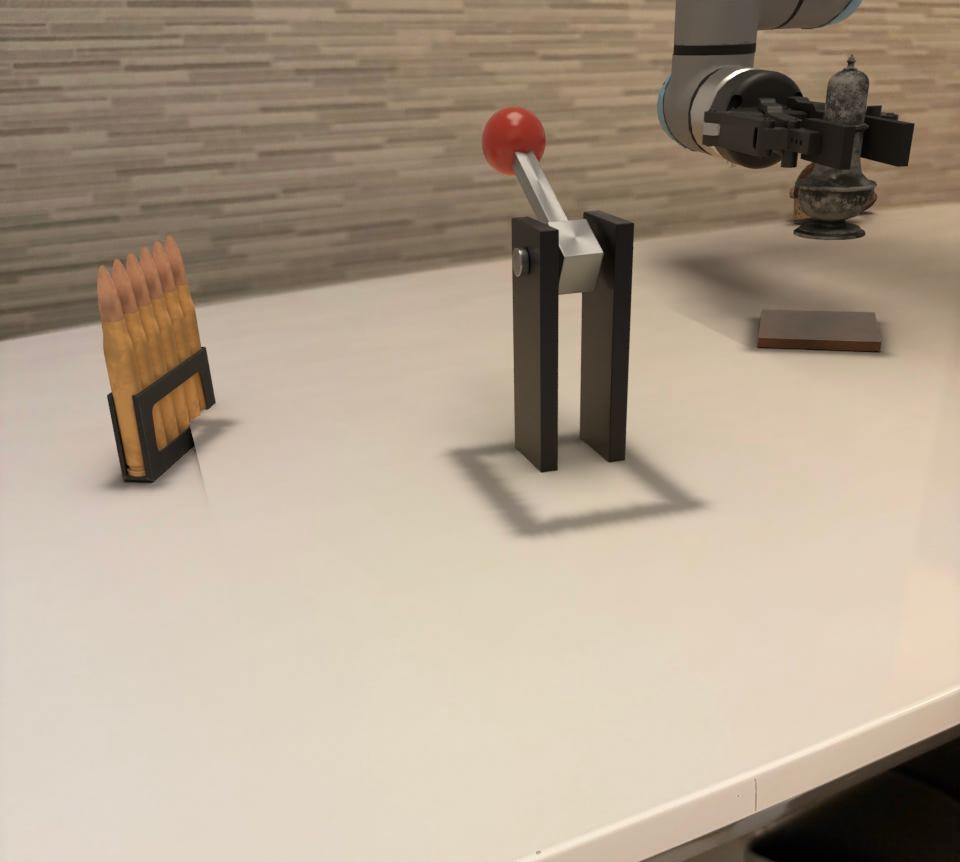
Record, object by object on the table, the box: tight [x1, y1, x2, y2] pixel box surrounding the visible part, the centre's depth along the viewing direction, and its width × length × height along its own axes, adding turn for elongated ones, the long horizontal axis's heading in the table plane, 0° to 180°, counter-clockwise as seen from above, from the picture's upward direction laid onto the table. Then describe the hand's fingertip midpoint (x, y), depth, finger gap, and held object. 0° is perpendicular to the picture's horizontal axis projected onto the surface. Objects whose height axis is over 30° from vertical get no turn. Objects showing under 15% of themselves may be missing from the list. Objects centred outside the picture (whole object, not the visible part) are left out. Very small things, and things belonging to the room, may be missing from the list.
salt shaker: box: [792, 53, 878, 241], centre depth 79 cm, size 6×6×12 cm
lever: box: [481, 105, 604, 296], centre depth 58 cm, size 13×4×4 cm, turn 18°
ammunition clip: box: [96, 234, 216, 482], centre depth 64 cm, size 11×2×12 cm, turn 170°
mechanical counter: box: [789, 162, 878, 222], centre depth 128 cm, size 7×13×10 cm
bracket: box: [510, 209, 635, 474], centre depth 58 cm, size 12×9×14 cm
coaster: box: [757, 308, 883, 352], centre depth 86 cm, size 9×9×1 cm
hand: (876, 146), depth 74 cm, fingers closed on salt shaker, 4 cm apart
